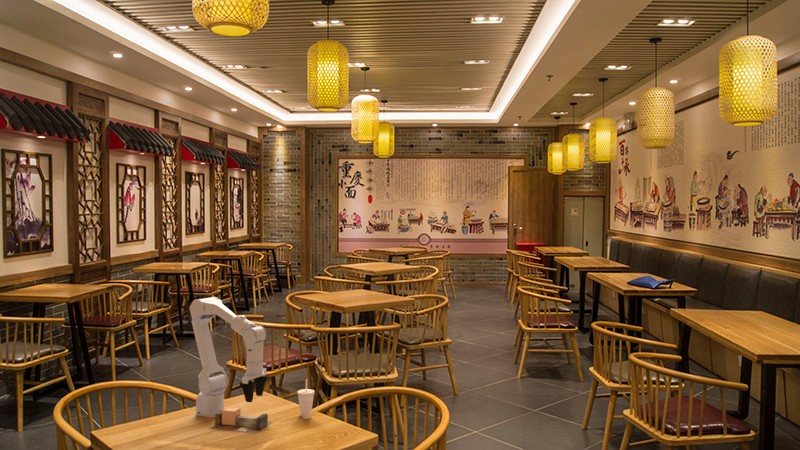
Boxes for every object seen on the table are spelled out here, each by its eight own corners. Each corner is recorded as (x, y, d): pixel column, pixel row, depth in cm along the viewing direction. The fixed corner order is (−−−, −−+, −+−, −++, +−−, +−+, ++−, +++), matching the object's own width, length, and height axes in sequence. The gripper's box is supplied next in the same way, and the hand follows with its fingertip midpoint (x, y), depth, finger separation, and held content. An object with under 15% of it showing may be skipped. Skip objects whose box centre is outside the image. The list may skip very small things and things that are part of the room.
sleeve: (221, 424, 212) (221, 410, 212) (227, 420, 216) (227, 406, 216) (234, 425, 210) (234, 411, 210) (240, 421, 214) (240, 408, 214)
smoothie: (316, 414, 227) (316, 377, 227) (312, 420, 221) (312, 382, 220) (299, 414, 228) (299, 377, 228) (295, 419, 221) (295, 381, 221)
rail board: (209, 431, 209) (209, 416, 208) (227, 420, 220) (227, 406, 220) (256, 436, 204) (256, 421, 204) (272, 424, 216) (272, 410, 215)
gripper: (255, 366, 207) (254, 405, 207) (274, 356, 221) (273, 393, 221) (236, 364, 208) (236, 403, 208) (256, 355, 222) (256, 392, 222)
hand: (254, 398), depth 215 cm, fingers open, 7 cm apart
